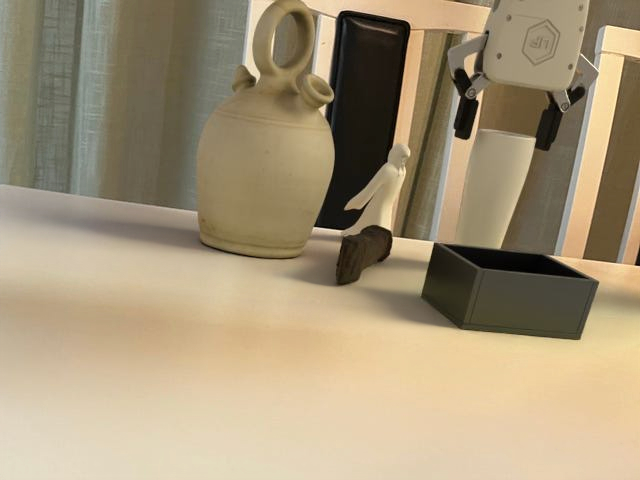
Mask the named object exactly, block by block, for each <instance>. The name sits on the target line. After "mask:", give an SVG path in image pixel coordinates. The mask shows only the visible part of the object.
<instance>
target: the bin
mask: <svg viewBox="0 0 640 480" xmlns="http://www.w3.org/2000/svg"><path fill="white" fill-rule="evenodd" d="M599 285H600V281H599V280H597V279H595V278H593V277H592V276H589V275H588V274H587V273H584V272H581V271H580V270H578V269H576V268H573V267H572V266H570V265H568V264H567V263H564V262H562V261H560V260H558V259H556V258H554V257H552V256H550V255H548V254H547V253H542V252H535V251H533V252H532V251H525V250H522V251H521V250H513V249H505V248H500V249H496V248H487V247H477V246H467V245H458V244H454V243H447V242H439V241H438V242H437V241H434V242H433V245H432V249H431V253H430V256H429V261H428V265H427V269H426V273H425V277H424V282H423V286H422V290H421V292H420V298H422V299H423V300H424V301H426V302H427V303H428V304H429V305H431V306H432V307H433V308H434V309H436V310H437V311H438V312H439V313H440V314H442V315H444V316H445V317H446V318H447V319H448V320H450V321H451V322H453V324H455V325H456V326H457V327H459V328H460V329H462V330H469V331H481V332H492V333H502V334H512V335H513V334H514V335H524V336H533V337H534V336H535V337H544V338H545V337H546V338H557V339H567V340H568V339H569V340H578V341H579V340H581V339H582V336H583V333H584V329H585V327H586V323H587V320H588V317H589V315H590V312H591V309H592V306H593V303H594V300H595V297H596V294H597V291H598V287H599Z"/></svg>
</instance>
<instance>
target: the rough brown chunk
mask: <svg viewBox="0 0 640 480" xmlns="http://www.w3.org/2000/svg"><path fill="white" fill-rule="evenodd" d="M345 236H346V235H345ZM345 236H343V238H342V240H341V244H340V248H339V252H338V253H339V254H338V258H337V262H336V265H335V266H336V270H335V280H336V283H338V284H351V283H352V282H356V281H359V280H360V278H361V276H362V273H363V271H364V270H366V269H369V268H370V267H371V266H372V264H374V263H376V262H379V263H383V262H384V261H385V260H387V258H389V256H391V251H392V247H393V243H394V239H393V238H394V237H393V233H392V231H390V230H388V229H386V228H384V227H381V226H378V225H370V226H367V227H365V228H363V229H362V230H361V231H360V233H358V234H356V235H348V236H346V237H345Z"/></svg>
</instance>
